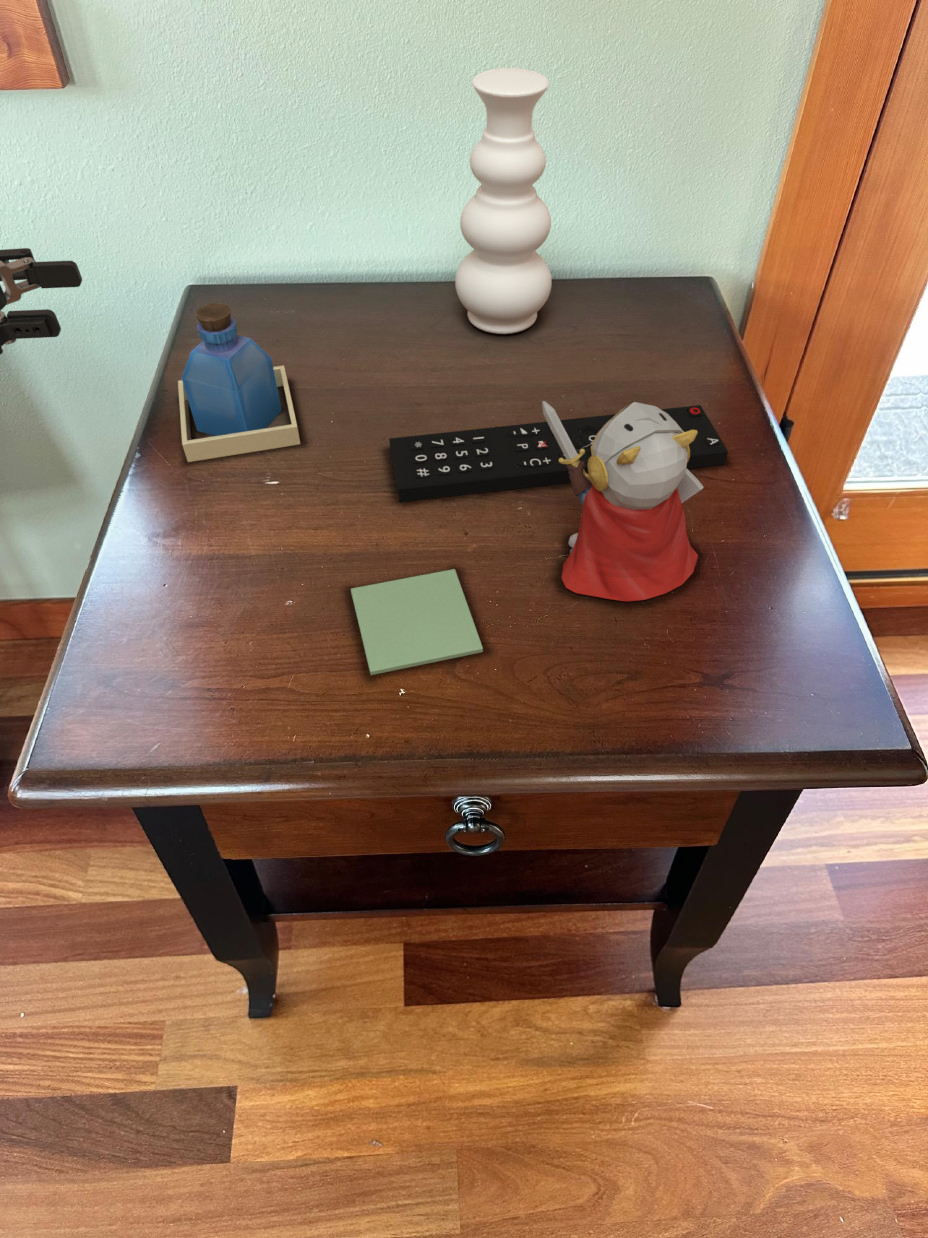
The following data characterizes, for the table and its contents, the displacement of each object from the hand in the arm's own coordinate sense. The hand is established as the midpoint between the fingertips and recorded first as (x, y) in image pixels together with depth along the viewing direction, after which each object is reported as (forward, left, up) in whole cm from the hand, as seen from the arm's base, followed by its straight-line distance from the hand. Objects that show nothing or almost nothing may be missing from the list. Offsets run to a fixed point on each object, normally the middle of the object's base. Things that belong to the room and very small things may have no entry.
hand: (68, 297), depth 74 cm
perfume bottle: (+12, -2, -14) cm, 19 cm away
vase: (+44, +10, -14) cm, 47 cm away
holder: (+12, -2, -14) cm, 19 cm away
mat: (+24, -33, -14) cm, 43 cm away
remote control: (+42, -16, -14) cm, 47 cm away
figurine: (+43, -30, -14) cm, 54 cm away
